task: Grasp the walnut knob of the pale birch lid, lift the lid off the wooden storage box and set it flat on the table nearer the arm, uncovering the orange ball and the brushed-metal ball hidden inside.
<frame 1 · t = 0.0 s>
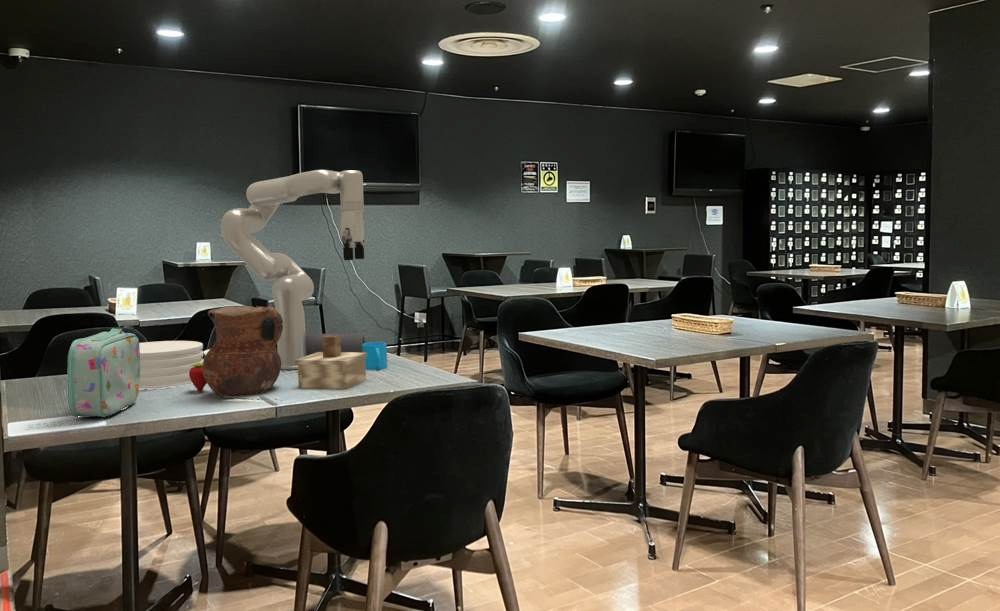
hand: (354, 259, 278), 37 cm above the table, tool pointing down, fingers open, 9 cm apart
bluetooth speaker: (332, 361, 299), on the table
orange ball: (319, 385, 246), point 1 cm above the table, touching storage box
strawberry: (200, 392, 245), on the table
jug: (243, 394, 240), on the table
plate stack: (157, 383, 263), on the table
lid: (332, 360, 248), point 8 cm above the table, touching storage box
metal ball: (346, 381, 251), point 1 cm above the table, touching storage box
lunch box: (107, 412, 220), on the table
mug: (376, 369, 280), on the table
storage box: (333, 386, 248), on the table
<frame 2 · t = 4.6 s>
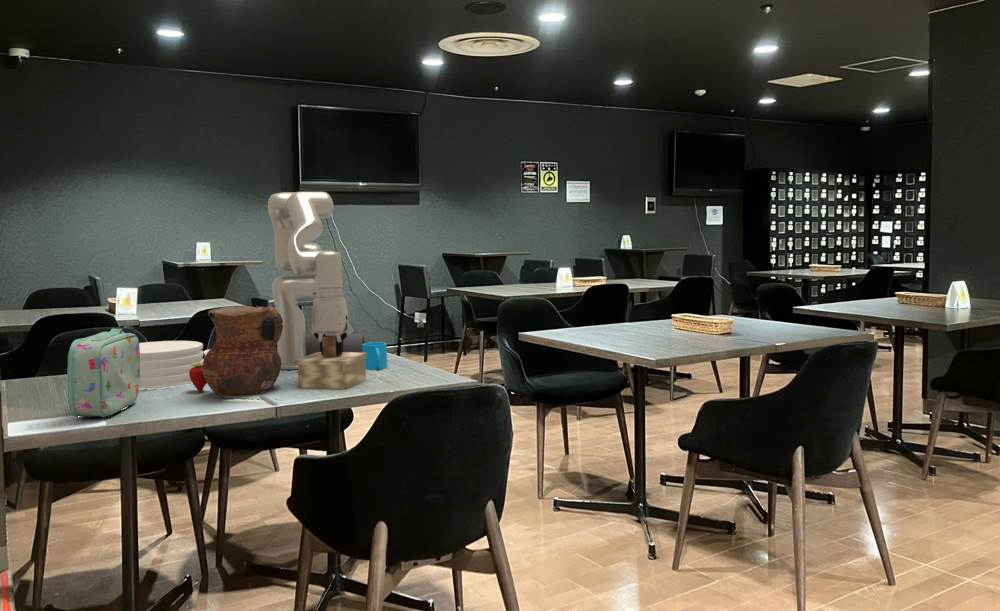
hand: (332, 354, 248), 10 cm above the table, tool pointing down, fingers closed on lid, 4 cm apart
lid: (332, 360, 248), point 8 cm above the table, touching gripper, storage box
everything else where it was.
when the fingers open (3 cm above the table, at t = 12.7 s): lid drops 2 cm, on the table.
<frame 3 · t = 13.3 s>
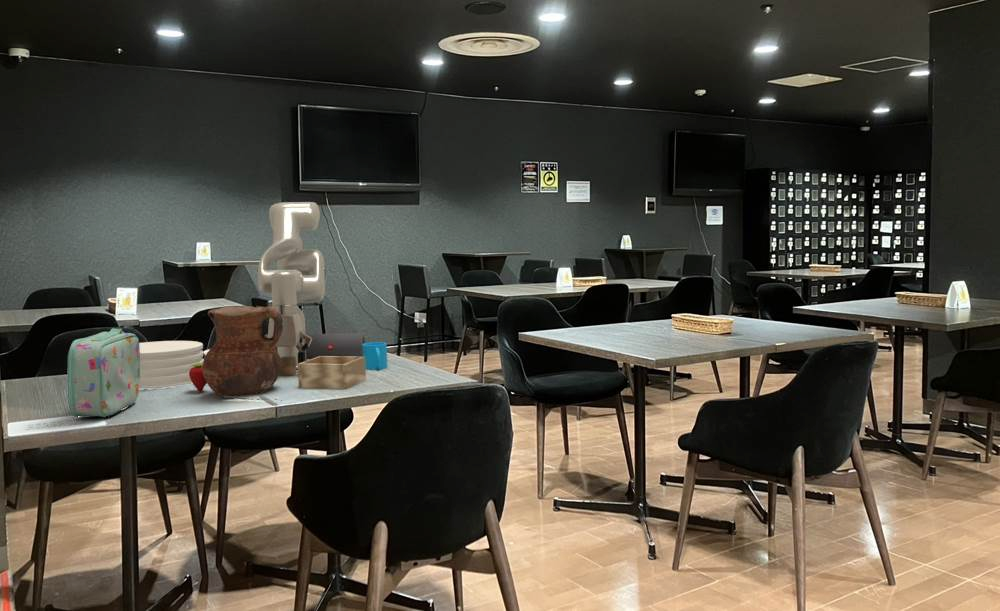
hand: (287, 363, 265), 4 cm above the table, tool pointing down, fingers open, 9 cm apart
lid: (287, 379, 265), on the table
everything else where it was.
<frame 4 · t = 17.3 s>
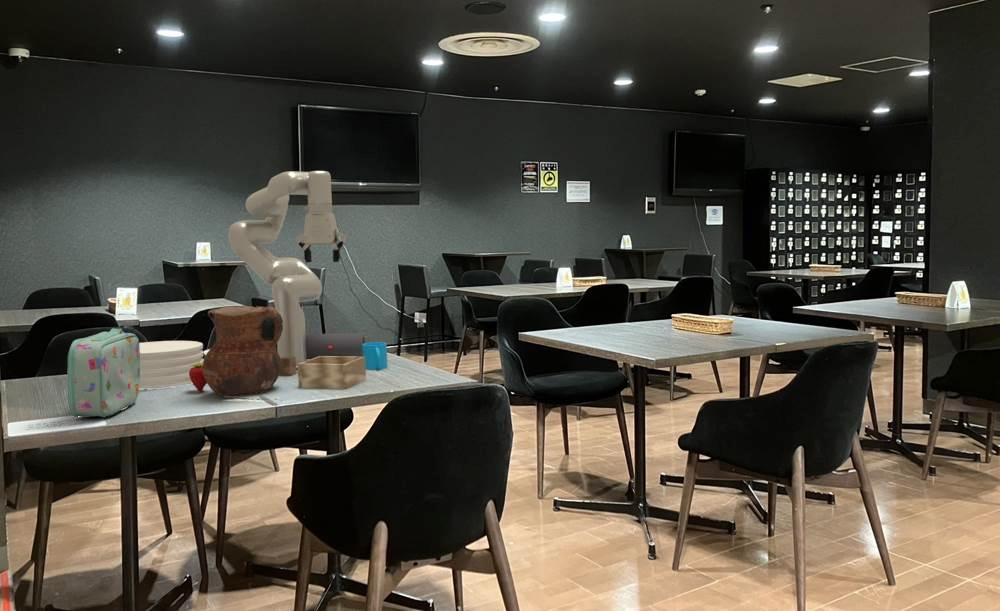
hand: (322, 262, 272), 36 cm above the table, tool pointing down, fingers open, 9 cm apart
nothing on the table moved.
at the end: lid inside the target area (0.0 cm from its centre), on the table; lid touching table; lid tilted 0° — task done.
